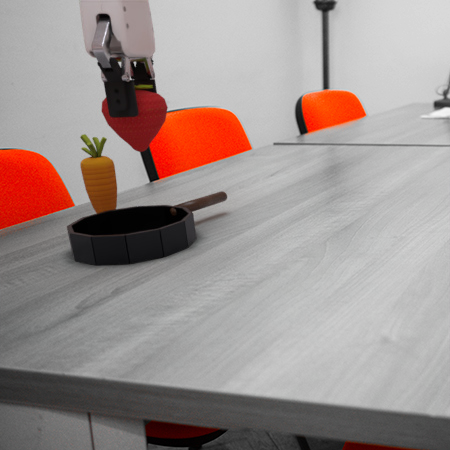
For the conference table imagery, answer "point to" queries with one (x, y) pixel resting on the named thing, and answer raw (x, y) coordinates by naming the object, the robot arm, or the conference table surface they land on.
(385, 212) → the conference table surface
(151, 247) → the pan
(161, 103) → the strawberry
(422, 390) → the conference table surface
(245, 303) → the conference table surface
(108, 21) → the robot arm
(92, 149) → the carrot
